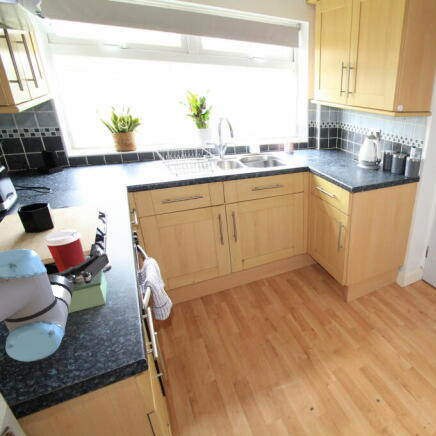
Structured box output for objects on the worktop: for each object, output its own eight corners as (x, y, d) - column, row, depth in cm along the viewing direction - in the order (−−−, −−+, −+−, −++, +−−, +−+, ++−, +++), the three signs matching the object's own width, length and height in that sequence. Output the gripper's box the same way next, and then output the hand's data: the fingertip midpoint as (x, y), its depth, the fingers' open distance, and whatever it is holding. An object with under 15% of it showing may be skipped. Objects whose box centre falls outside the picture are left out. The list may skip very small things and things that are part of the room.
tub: (54, 317, 86) (45, 295, 83) (61, 295, 95) (53, 274, 92) (107, 304, 92) (100, 282, 89) (108, 284, 101) (102, 263, 98)
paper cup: (98, 269, 95) (84, 227, 89) (84, 285, 88) (69, 240, 82) (68, 271, 93) (53, 228, 88) (52, 287, 86) (35, 242, 81)
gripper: (-25, 333, 63) (6, 278, 80) (121, 295, 75) (121, 255, 92) (-42, 302, 60) (-6, 252, 77) (113, 268, 72) (115, 231, 89)
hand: (63, 254), depth 84 cm, fingers open, 13 cm apart
